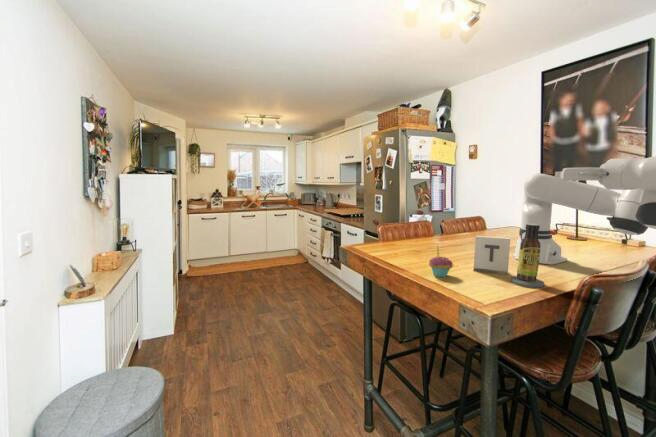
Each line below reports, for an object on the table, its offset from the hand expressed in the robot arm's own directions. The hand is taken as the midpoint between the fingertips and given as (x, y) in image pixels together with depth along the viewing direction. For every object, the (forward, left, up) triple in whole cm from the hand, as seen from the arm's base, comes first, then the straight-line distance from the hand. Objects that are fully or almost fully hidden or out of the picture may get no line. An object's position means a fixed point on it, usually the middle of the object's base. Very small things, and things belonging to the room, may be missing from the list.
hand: (565, 174), depth 104 cm
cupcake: (+26, -26, -38) cm, 53 cm away
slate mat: (+4, -7, -38) cm, 39 cm away
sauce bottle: (+3, -8, -37) cm, 38 cm away
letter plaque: (+4, -23, -38) cm, 44 cm away
